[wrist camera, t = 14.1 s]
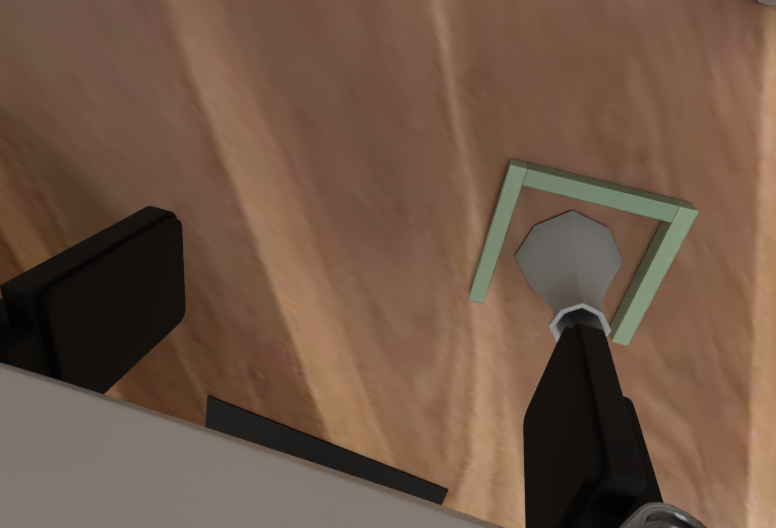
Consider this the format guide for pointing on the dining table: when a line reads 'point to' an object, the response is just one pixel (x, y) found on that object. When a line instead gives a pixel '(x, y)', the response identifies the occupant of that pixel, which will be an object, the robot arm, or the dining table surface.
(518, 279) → the dining table surface
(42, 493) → the robot arm
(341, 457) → the black-topped pedestal
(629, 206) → the frame
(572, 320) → the flask
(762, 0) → the supplement can
